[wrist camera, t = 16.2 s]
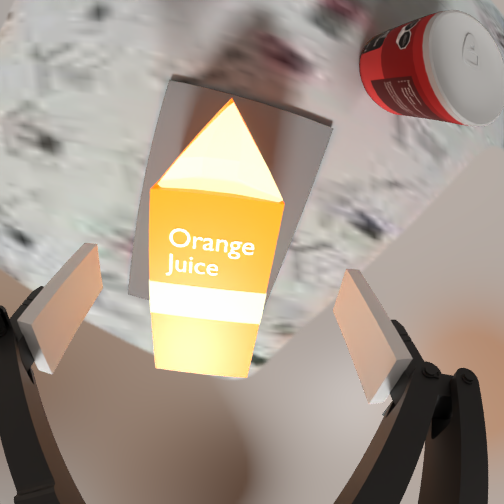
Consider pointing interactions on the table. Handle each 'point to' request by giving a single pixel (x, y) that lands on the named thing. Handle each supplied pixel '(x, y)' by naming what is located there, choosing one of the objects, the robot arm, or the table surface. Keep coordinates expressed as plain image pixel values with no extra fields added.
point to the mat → (267, 141)
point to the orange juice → (212, 250)
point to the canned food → (436, 70)
